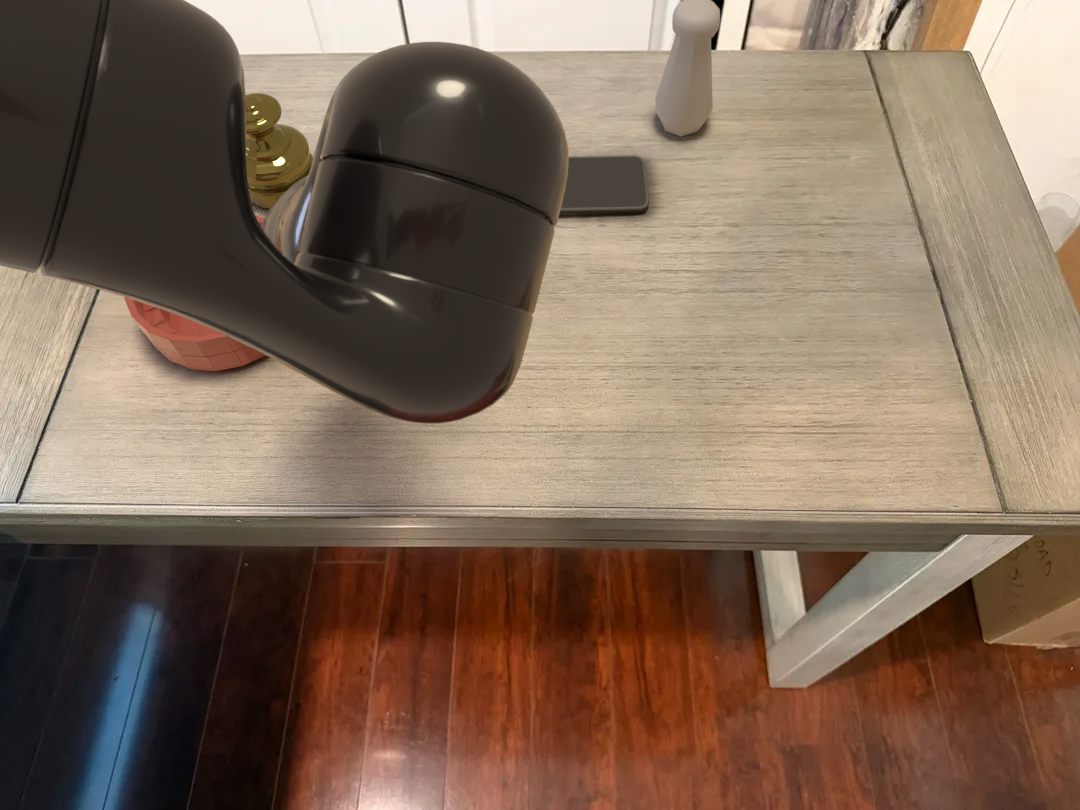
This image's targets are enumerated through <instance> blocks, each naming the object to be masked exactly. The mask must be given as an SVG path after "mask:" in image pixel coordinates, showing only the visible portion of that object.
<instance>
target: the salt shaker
mask: <svg viewBox="0 0 1080 810" xmlns="http://www.w3.org/2000/svg"><path fill="white" fill-rule="evenodd" d="M720 9H721V8H719V6H718V5H717V4H716V3H715V2H714V1H713V0H681V1H680V2H678V4H677V5H676V6H675V7H674V9H673V13H672V17H671V18H672V20H671V23H672V24H671V25H672V31H673V33H674V34H675V36H674V40H673V42H672V45H671V49H670V52H669V55H668V57H667V60H666V64H665V67H664V70H663V73H662V76H661V80H660V82H659V86H658V89H657V91H656V95H655V98H654V99H655V102H654V103H655V105H654V106H655V107H654V108H655V112H656V115H657V116H658V119H659V121H660V122H661V124H662V126H663V129H664V131H665V132H667V133H669V134H671V135H676V136H678V137H685V136H689V135H691V134H695V133H697V132H698V131H699V130H700V129H701V128H702V127H703V125H704V124H705V123H706V122H707V120H708V118H709V116H710V115H711V113H712V111H713V108H714V107H713V105H714V104H713V102H714V101H713V65H712V64H713V62H712V61H713V60H712V38H714V36H715V35H716V33H717V32H718V30H719V28H720V24H721V10H720Z"/></svg>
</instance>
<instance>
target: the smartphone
mask: <svg viewBox="0 0 1080 810" xmlns="http://www.w3.org/2000/svg"><path fill="white" fill-rule="evenodd" d="M649 196H650V195H649V186H648V178H647V168H646V162H645V160H644V159H643V157H641V156H638V155H599V156H598V155H596V156H594V155H593V156H591V155H588V156H569V167H568V177H567V184H566V189H565V194H564V198H563V202H562V206H561V210H560V214H559V216H561V215H563V216H564V215H604V214H606V215H608V214H613V215H614V214H641V213H645V212H646V211H647V209H648V208H649V205H650V198H649Z"/></svg>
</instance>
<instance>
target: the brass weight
mask: <svg viewBox="0 0 1080 810" xmlns="http://www.w3.org/2000/svg"><path fill="white" fill-rule="evenodd" d="M245 96H246V159H247V176H248V185H249V191H250V196H251V202H252V204H254V205H256V206H259V207H260V208H263V209H269V210H270V209H271V207H272V206H273V205H274V204H275V203H276V202H277V200H278V199H279V198H280V197H281V196H282V195H283V194H284V193H285V192H286V191H287V190H288V189H289V188H290V187H291V186H292V185H294V184H295V183H296V182H298V181H299V180H300V179H302V178H304V177H306V176H308V175H309V172H310V169H311V165H312V161H313V157H314V155H313V154H312V152H310V151H311V150H310V145H309V142H308V140H307V138H306V137H305V135H304V134H303V133H302V132H301V131H300V130H298V129H297V128H294V127H293V126H290V125H286V124H283V123H279V121H280V119H281V117H282V107H281V104H280V102H279V101H278V99H277V98H275V97H274V96H273V95H270V94H267V93H261V92H254V93H248V94H245Z"/></svg>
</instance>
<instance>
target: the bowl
mask: <svg viewBox="0 0 1080 810" xmlns="http://www.w3.org/2000/svg"><path fill="white" fill-rule="evenodd" d="M255 216H256V218H257V220H258V222H259V224H260V226H261V223H262V222H263V220H264V218H265V217H261V216H259V215H256V214H255ZM124 302H125V304H126V306H127V309H128V311H129V314H130V316H131V318H132V320H133V322H135V324H137V326H138V327H139V328H140V330H141V331H142V333H143V334H144V335H145V337H146V338H147V339H148V340H149V341H150V343H151V344H152V345H153V347H154V348H155V349H157V351H159V352H160V353H161V354H162V355H163V356H164V357H165V358H166V359H167V360H168V361H170V362H172V363H175V364H177V365H180V366H182V367H185V368H187V369H190V370H194V371H195V370H196V371H212V372H219V371H223V370H229V369H234V368H238V367H243V366H245V365H248V364H250V363H252V362H254V361H257V360H259V359H260V358H263V357H265V356H266V355H265V354H263V353H261V352H259V351H257V350H255V349H253V348H251V347H249V346H246V345H244V344H242V343H240V342H238V341H236V340H234V339H232V338H230V337H227V336H225V335H223V334H221V333H219V332H217V331H215V330H212V329H210V328H207V327H205V326H203V325H200V324H198V323H195V322H193V321H191V320H188V319H186V318H183V317H181V316H178V315H176V314H173V313H170V312H168V311H165V310H162V309H159V308H156V307H153V306H150V305H147V304H144V303H141V302H139V301H136V300H133V299H130V298H127V297H124Z"/></svg>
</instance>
